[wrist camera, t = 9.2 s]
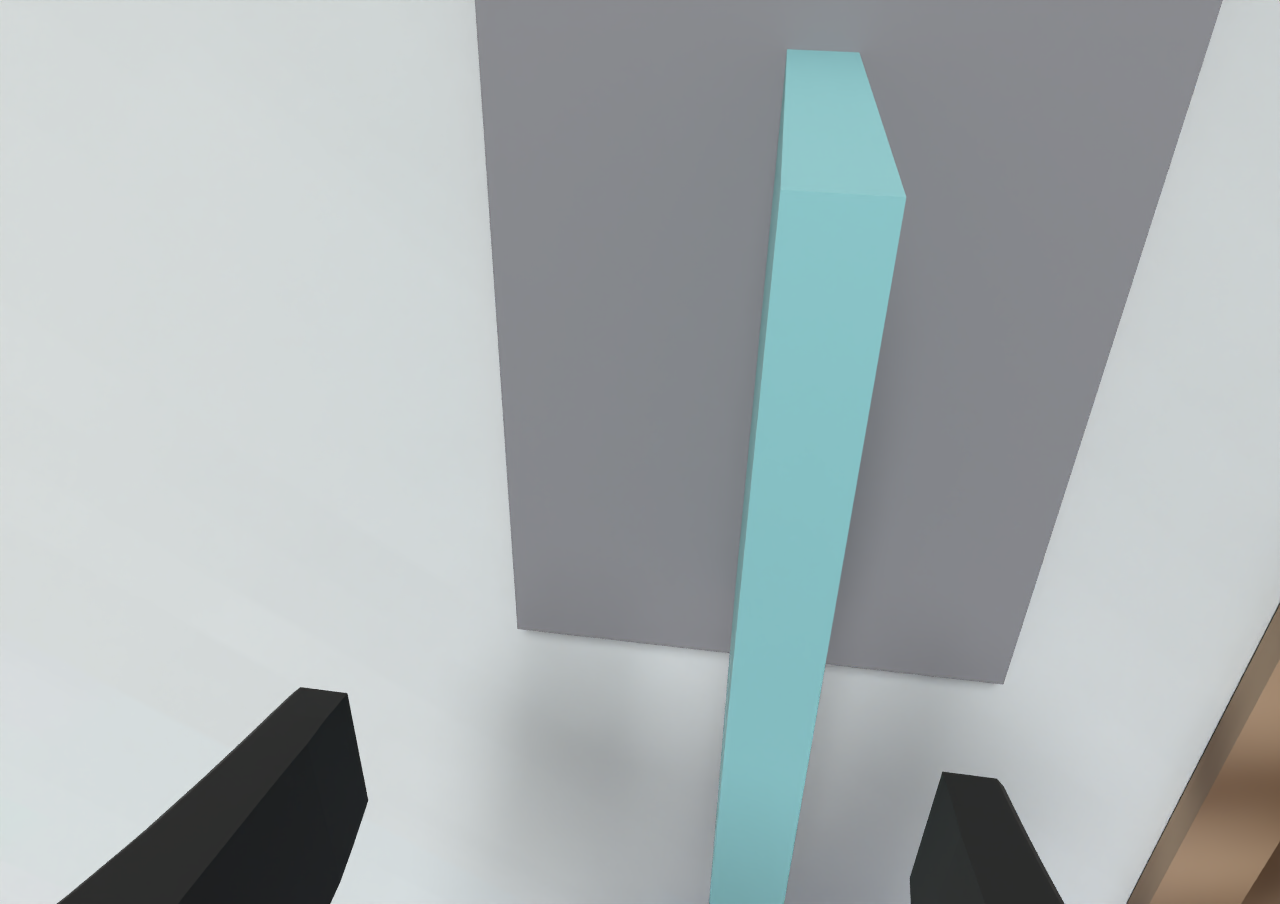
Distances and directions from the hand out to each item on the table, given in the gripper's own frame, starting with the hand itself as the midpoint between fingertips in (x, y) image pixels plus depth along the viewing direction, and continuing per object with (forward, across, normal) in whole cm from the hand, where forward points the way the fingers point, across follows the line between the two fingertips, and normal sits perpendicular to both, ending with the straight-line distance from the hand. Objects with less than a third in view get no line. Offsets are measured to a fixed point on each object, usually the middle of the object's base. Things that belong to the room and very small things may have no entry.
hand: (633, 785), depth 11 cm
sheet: (+10, -2, -1) cm, 10 cm away
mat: (+10, -2, -1) cm, 10 cm away
